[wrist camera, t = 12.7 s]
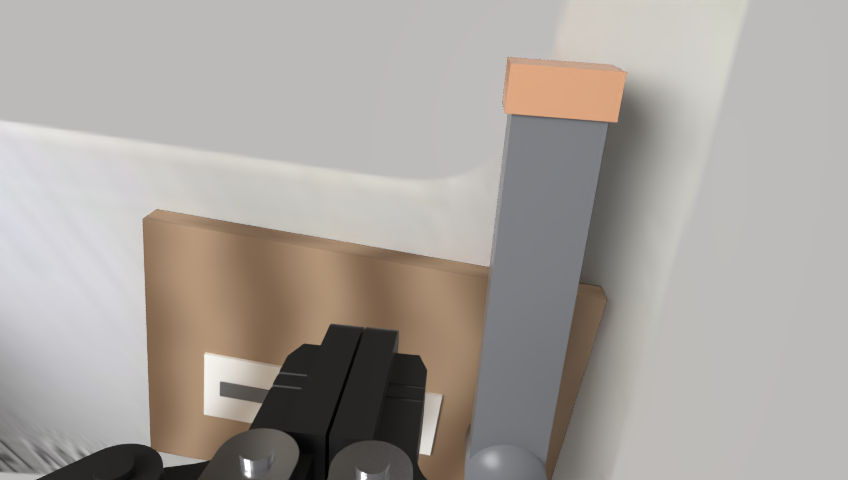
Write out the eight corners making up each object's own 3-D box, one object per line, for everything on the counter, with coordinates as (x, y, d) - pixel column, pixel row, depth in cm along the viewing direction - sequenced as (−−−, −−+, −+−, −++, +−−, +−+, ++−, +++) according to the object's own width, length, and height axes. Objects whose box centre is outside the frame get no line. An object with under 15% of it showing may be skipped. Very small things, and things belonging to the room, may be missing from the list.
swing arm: (537, 473, 35) (543, 523, 32) (460, 464, 36) (458, 514, 32) (610, 63, 26) (630, 73, 23) (507, 56, 27) (511, 65, 23)
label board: (162, 434, 39) (148, 453, 37) (156, 209, 33) (139, 220, 31) (536, 501, 39) (538, 524, 37) (601, 286, 32) (608, 302, 31)
